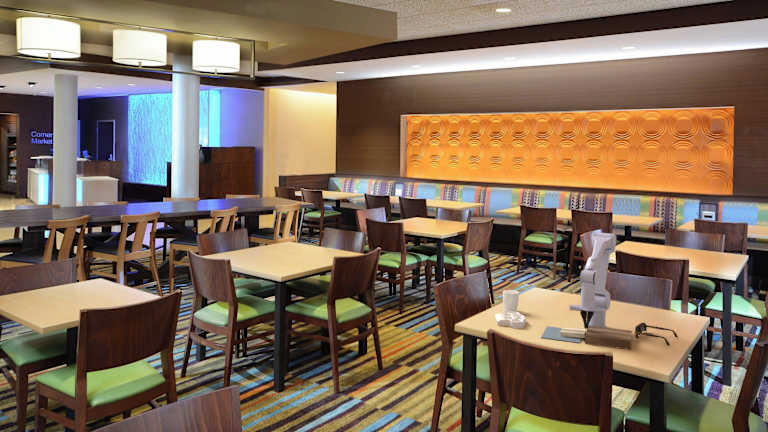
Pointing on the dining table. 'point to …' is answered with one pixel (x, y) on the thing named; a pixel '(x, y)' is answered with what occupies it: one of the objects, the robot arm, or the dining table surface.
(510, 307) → the white cup
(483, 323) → the dining table surface
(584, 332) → the cream rectangular block
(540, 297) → the dining table surface
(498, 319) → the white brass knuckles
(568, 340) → the mat
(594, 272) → the robot arm
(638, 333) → the sunglasses
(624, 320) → the dining table surface
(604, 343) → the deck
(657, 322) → the dining table surface
